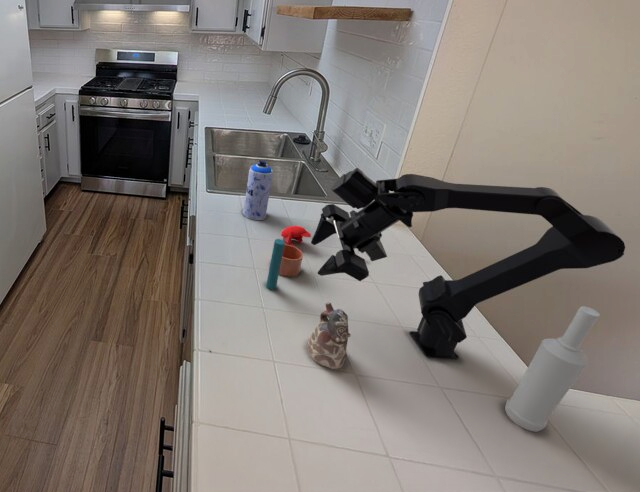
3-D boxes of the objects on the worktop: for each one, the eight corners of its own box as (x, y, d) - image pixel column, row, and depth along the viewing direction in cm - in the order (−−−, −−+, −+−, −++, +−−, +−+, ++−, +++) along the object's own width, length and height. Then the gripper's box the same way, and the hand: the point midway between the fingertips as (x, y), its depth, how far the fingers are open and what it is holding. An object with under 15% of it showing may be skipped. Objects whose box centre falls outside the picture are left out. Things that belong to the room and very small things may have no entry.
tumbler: (302, 277, 103) (306, 260, 101) (275, 276, 103) (279, 259, 101) (294, 260, 109) (297, 244, 107) (268, 259, 110) (271, 243, 108)
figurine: (323, 372, 76) (336, 327, 72) (299, 344, 83) (310, 300, 78) (352, 364, 78) (367, 319, 74) (327, 337, 85) (339, 294, 80)
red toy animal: (278, 245, 116) (282, 229, 114) (280, 235, 121) (283, 219, 119) (307, 252, 113) (311, 235, 110) (308, 242, 118) (311, 225, 116)
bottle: (502, 398, 72) (562, 294, 62) (541, 416, 69) (610, 309, 59) (504, 420, 68) (568, 312, 58) (545, 439, 65) (620, 329, 55)
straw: (277, 290, 98) (286, 244, 93) (267, 289, 98) (276, 244, 93) (274, 283, 100) (283, 239, 95) (265, 283, 100) (273, 238, 95)
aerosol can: (238, 209, 136) (246, 157, 128) (259, 207, 137) (267, 156, 129) (249, 221, 129) (257, 166, 121) (270, 219, 130) (280, 165, 122)
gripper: (417, 274, 74) (352, 308, 84) (386, 208, 89) (335, 244, 98) (371, 248, 73) (311, 285, 82) (348, 186, 88) (299, 224, 97)
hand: (315, 258), depth 90 cm, fingers open, 9 cm apart
